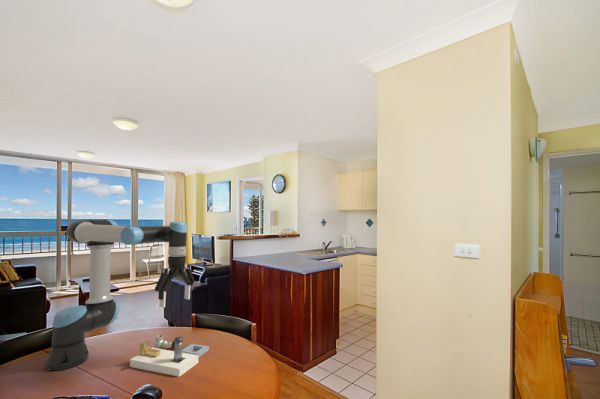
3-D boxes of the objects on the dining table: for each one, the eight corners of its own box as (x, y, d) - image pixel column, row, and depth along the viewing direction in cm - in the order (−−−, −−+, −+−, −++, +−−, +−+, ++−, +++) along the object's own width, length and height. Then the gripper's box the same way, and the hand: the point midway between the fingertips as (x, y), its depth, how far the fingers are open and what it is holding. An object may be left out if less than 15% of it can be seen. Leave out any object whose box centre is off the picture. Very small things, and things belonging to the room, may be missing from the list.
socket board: (129, 369, 121) (130, 359, 121) (151, 356, 132) (152, 347, 132) (179, 379, 113) (179, 368, 113) (198, 364, 124) (198, 355, 125)
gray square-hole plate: (180, 356, 132) (180, 350, 132) (191, 349, 140) (192, 343, 140) (198, 359, 129) (198, 353, 129) (208, 351, 137) (209, 346, 137)
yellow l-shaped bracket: (139, 354, 125) (140, 343, 125) (145, 351, 128) (145, 340, 129) (155, 357, 122) (156, 345, 123) (161, 353, 125) (161, 342, 126)
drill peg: (171, 368, 120) (172, 339, 120) (177, 364, 123) (178, 336, 124) (178, 369, 119) (179, 340, 119) (183, 365, 122) (184, 337, 123)
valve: (150, 352, 136) (173, 354, 134) (151, 338, 137) (173, 340, 135) (159, 346, 143) (181, 348, 141) (160, 333, 143) (181, 335, 141)
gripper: (158, 259, 116) (156, 312, 114) (203, 253, 138) (201, 297, 137) (146, 258, 119) (144, 309, 117) (192, 252, 141) (190, 295, 140)
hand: (175, 302), depth 127 cm, fingers open, 13 cm apart
